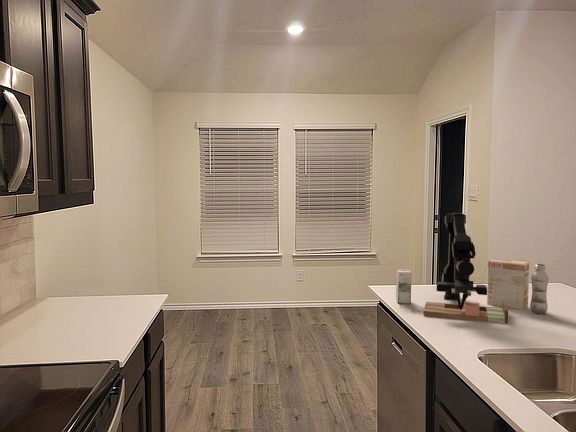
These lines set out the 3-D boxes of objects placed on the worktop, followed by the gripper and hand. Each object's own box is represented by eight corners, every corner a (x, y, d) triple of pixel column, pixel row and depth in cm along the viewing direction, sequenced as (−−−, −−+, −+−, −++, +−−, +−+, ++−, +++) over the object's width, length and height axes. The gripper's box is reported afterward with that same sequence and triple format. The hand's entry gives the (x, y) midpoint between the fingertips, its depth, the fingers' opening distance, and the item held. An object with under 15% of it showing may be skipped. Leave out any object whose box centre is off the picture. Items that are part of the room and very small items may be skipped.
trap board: (426, 306, 204) (426, 294, 203) (504, 313, 193) (504, 301, 193) (423, 315, 190) (423, 303, 190) (507, 323, 179) (508, 310, 179)
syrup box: (408, 300, 213) (409, 269, 212) (411, 304, 207) (411, 271, 206) (396, 300, 214) (396, 268, 212) (397, 303, 208) (398, 271, 207)
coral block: (465, 311, 188) (466, 301, 188) (479, 312, 187) (479, 303, 186) (465, 315, 184) (465, 305, 184) (479, 316, 182) (479, 306, 182)
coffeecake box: (528, 307, 201) (530, 262, 200) (523, 310, 196) (524, 264, 195) (492, 300, 212) (493, 258, 210) (486, 304, 206) (487, 260, 205)
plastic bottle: (546, 311, 194) (548, 263, 193) (548, 316, 188) (550, 266, 187) (529, 309, 197) (531, 262, 195) (530, 314, 191) (531, 265, 189)
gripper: (436, 273, 182) (435, 312, 184) (488, 276, 176) (486, 317, 177) (437, 267, 193) (436, 305, 194) (487, 271, 186) (485, 309, 187)
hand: (460, 309), depth 188 cm, fingers closed
